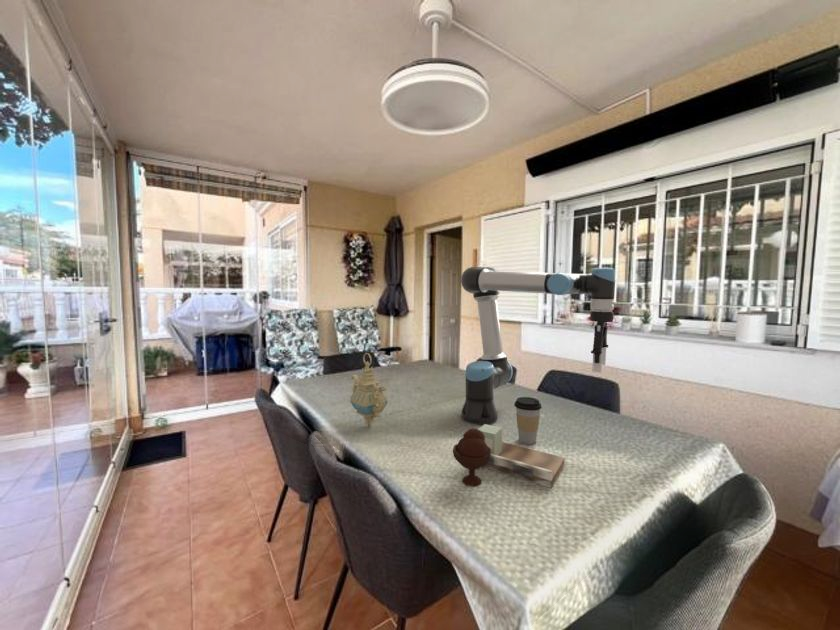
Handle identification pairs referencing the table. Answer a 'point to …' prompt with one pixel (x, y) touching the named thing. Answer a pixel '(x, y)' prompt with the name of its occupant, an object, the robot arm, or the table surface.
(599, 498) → the table surface
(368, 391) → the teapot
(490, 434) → the pale green box
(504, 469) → the shelf board
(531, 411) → the coffee cup
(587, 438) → the table surface
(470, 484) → the ice cream bowl
